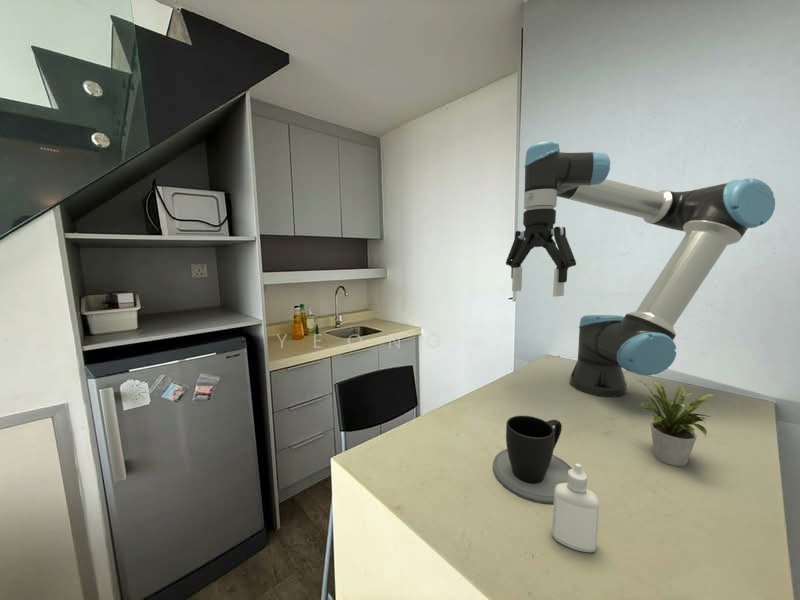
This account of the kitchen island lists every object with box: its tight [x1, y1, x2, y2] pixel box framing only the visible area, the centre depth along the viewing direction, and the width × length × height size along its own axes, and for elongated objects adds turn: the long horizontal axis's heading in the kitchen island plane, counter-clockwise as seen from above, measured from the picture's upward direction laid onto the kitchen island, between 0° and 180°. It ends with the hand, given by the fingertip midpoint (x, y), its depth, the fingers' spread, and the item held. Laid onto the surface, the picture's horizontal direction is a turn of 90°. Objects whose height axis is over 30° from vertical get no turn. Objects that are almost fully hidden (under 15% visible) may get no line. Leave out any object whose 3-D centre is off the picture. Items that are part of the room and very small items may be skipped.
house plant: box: [631, 377, 718, 467], centre depth 65 cm, size 14×14×16 cm
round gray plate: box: [492, 448, 573, 505], centre depth 61 cm, size 15×15×1 cm
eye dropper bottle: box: [551, 463, 600, 553], centre depth 46 cm, size 4×6×12 cm
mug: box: [505, 415, 563, 484], centre depth 60 cm, size 8×12×10 cm
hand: (535, 293), depth 83 cm, fingers open, 13 cm apart
